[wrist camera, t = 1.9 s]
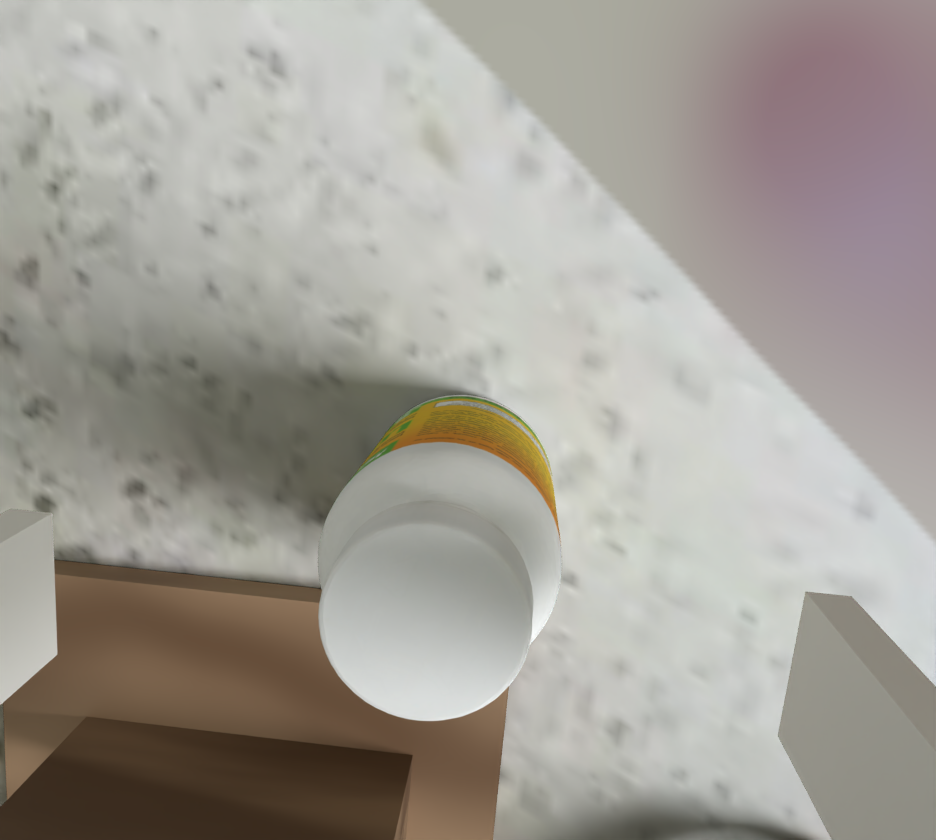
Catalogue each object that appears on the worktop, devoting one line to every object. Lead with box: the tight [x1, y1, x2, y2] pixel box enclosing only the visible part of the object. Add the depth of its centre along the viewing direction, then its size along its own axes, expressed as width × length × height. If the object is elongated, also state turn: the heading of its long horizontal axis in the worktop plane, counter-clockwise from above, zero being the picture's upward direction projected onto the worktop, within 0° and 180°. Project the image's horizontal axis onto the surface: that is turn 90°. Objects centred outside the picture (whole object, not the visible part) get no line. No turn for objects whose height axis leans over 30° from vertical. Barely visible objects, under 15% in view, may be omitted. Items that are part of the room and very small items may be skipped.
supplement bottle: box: [318, 395, 562, 721], centre depth 19 cm, size 5×5×10 cm
